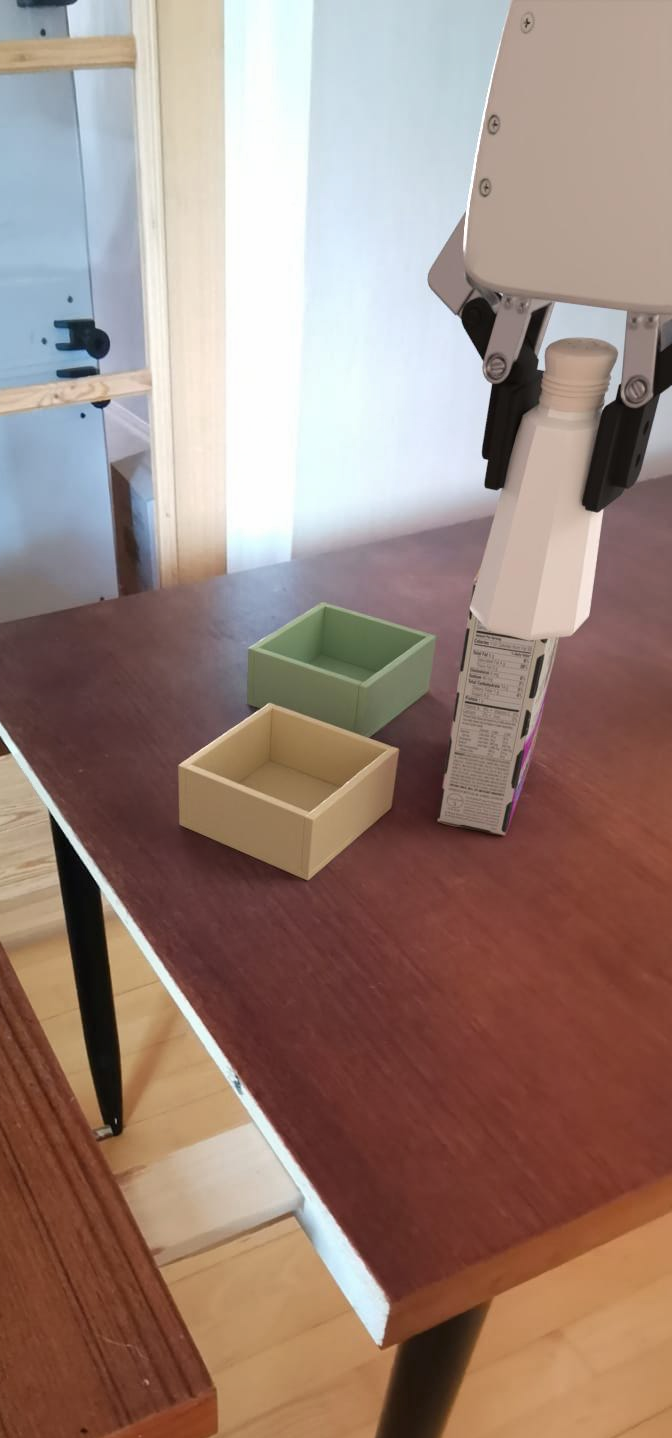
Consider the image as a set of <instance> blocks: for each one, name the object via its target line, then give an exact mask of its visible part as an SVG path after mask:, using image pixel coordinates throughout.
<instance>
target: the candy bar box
mask: <svg viewBox="0 0 672 1438" xmlns="http://www.w3.org/2000/svg"><path fill="white" fill-rule="evenodd" d="M479 572H480V569H479V570H478V572H477V573H476V576H475V577H474V579H473V584H472V590H471V591H472V592H471V597H470V602H471V601H472V597H473V594H474V590H475V586H476V583H477V579H478V575H479ZM470 605H471V603H470V604H469V606H470ZM559 640H560V637H558V638H549V639H540V640H531V641H529V640H525V639H521V638H517V637H513V636H509V635H505V634H501V633H497V632H493V631H489V630H487V629H486V628H485V627H484V626H483V624H482V623H481V622H480V621H479V620H478V619H477V618H476V616H475V615H474V614H473V613H472V612H471V610H470V609H469V613H468V618H467V624H466V630H465V635H464V641H463V647H462V654H461V660H460V667H459V675H458V681H457V688H456V694H455V695H456V696H455V703H454V707H453V708H454V709H453V715H452V722H451V728H450V734H449V741H448V747H447V752H446V757H445V758H446V759H445V764H444V772H443V777H442V783H441V789H440V796H439V801H438V808H437V814H436V821H437V822H438V823H441V824H444V825H448V826H451V827H455V828H463V829H467V830H473V831H479V832H483V833H488V834H493V835H499V836H503V837H505V836H507V833H508V830H509V829H510V828H509V827H510V825H511V821H512V819H513V816H514V813H515V810H516V807H517V805H518V801H519V799H520V796H521V793H522V790H523V788H524V784H525V782H526V778H527V775H528V773H529V769H530V766H531V763H532V761H533V759H534V756H535V751H536V743H537V740H538V736H539V731H540V726H541V721H542V718H543V714H544V713H543V712H544V707H545V703H546V699H547V696H548V695H547V694H548V690H549V686H550V680H551V677H552V676H551V675H552V671H553V668H554V667H553V666H554V662H555V658H556V653H557V649H558V644H559Z"/></svg>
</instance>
